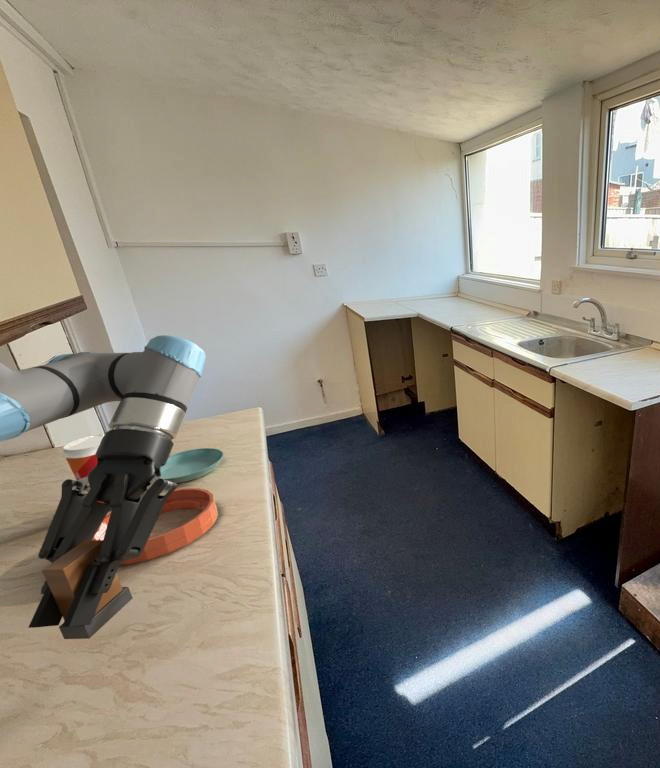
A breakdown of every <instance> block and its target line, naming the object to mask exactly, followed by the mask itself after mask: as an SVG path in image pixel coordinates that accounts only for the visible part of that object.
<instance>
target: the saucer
mask: <svg viewBox="0 0 660 768" xmlns="http://www.w3.org/2000/svg"><path fill="white" fill-rule="evenodd" d="M223 458H224V452H223V450H221V449H219V448H215V447H201V448H194V449H188V450H184V451H179V452H177V453H176V452H175V453H173V454H170V455H169V458H168V460H167V463H166V464H165V465H164V466H162V467H161V478H163V479H165V480H168V481H171V482H174V483H176V484H180V483H185V482H189V481H193V480H196V479H198V478H201V477H203V476H206V475H207V474H209V473H211V472H212V471H213V470H214V469H216V468H217V466H218V465H219V464H220V463H221V461H222V459H223Z"/></svg>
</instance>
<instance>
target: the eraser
mask: <svg viewBox="0 0 660 768" xmlns="http://www.w3.org/2000/svg"><path fill="white" fill-rule="evenodd" d="M102 543H103V540H85V541H83V542H82V543H80V544H79V545H77V546H76V547H75V548H73V549H72V550H70V551H69V552H67V553H66V554H64V555H63V556H61V557H60V558H59V559H57V560H56V561H54V562H53V563H51V562H50V563H49V564H48V565H46V566H45V567H44V568H42V569H41V571H42V574H43V576H44V578H45V581H47V583H48V585H49V587H50V590H51V592H52V594H53V596H54V598H55V601H56V603H57V605H58V607H59V610H60V612H61V614H62V618H63V622H64V621H65V618H66V616H67V614H68V611H69V609H70V607H71V604H72V602H73V600H74V597H75V595H76V593H77V590H78V588H79V586H80V583H81V581H82V579H83V576H84V574H85V572H86V569H87V567H88V565H89V564H99V565H100V563H93V561H92V559H95V558H98V557H99V554H100V550H101V547H102ZM132 599H133V595H132V592H131V590H130V587H129V586H122V583H121V580H120V577H119V575H118V573H117V572H116V575H115V577H114V579H113V582H112V585H111V587H110V589H109V590H108V592H107V593H103V595H102V597H101V600H100V602H99V605H98V607H97V610H96V612H95V615H94V617H93V620H92V622H91V625H82V626H72V627H62V625H63V623H61V624H59V625H58V628H59V631H60V634H61V635H62V637H63V639H64V640H85V639H91V638H92V637H93V636H94V635H95V634H96V633H97V632H98V631H100V629H101V628H103V627H104V626H105V625H106V624H107V623H108V622H109V621H110V620H112V618H113V617H114V616H116V615H117V614H118V613H119V612H120V611H121V610H122V609H123V608H124V607H125V606H126V605H127V604H129V602H130V601H132Z"/></svg>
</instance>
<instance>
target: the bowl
mask: <svg viewBox="0 0 660 768" xmlns="http://www.w3.org/2000/svg"><path fill="white" fill-rule="evenodd" d="M176 510H200V511H201V512H200V513H198V515H196V516H195V517H194V518H192V519H191V520H189V521H187V522H186V523H184V524H182V525H180V526H179V527H176V528H174V529H172V530H169V531H167V532H164V533H163V534H159V535H156V536H153V537H149V538H148V541H147V543H146V545H145V547H144V549H143V551H142V554H141V555H140V556H139V557H138V558H136V559H129V560H127V561H124V562H123V563H121V564H120V566H121V565H131V564H136V563H137V564H138V563H141V562H147V561H150V560H153V559H156V558H159V557H162V556H165V555H168V554H171V553H172V552H174V551H176V550H178V549H181V548H183V547H185V546H187V545H189V544H190V543H192V542H193V541H195V540H197V539H199V538H200V537H202V536H203V535H204V534H205V533H207V532H208V531H209V530H210V528H211V527H213V526H214V524H215V523H216V521H217V519H218V516H219V514H218V513H219V512H218V508H217V503H216V499H215V496H214V494H213V493H212V492H210V491H209V490H208V489H204V488H200V487H184V488H176V489H175V490H174V491H173V492H172V494H171V495H170V496H169V497H168V498H167V500H166V502H165V504H164V506H163V508H162V510H161V512H160V514H163V513H166V512H170V511H176ZM110 514H111V512H110V513H109V514H107V515H106V517H105V518H104V520H103V522H102V523H101V525H100V527H99V529H98V530H97V532H96V534H95V535H94V537H93V539H92V540H104V536H105V532H106V529H107V525H108V522H109V518H110Z"/></svg>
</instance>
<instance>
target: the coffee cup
mask: <svg viewBox="0 0 660 768" xmlns="http://www.w3.org/2000/svg"><path fill="white" fill-rule="evenodd" d="M104 435H105V434H96V435H94V436H93V435H90V436H86V437H82V438H81V437H80V438H78V439H76V440H73V441H70V442H69V443H66V444H64V446H63V448H62V451H63V452H62V453H61V457H62V458H64V459H65V460H66V461H67V464H68V466H69V468H70V470H71V472H72V474H73V476H74V478H75V481H76V480H79V479H81V478H84V477H87V476H88V474H89V472H90V471H91V470H92V469H93V468H94V467H95V466H96V465H97V463H98V459H97V457H96V451H97V449H98V447H99V445H100V443H101V441H102V439H103V437H104ZM98 502H101V501H98ZM101 503H104V502H101ZM111 511H112V510H111ZM111 511H110V512H111Z"/></svg>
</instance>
